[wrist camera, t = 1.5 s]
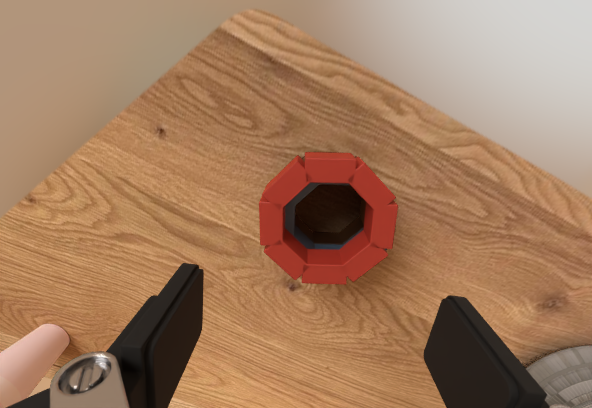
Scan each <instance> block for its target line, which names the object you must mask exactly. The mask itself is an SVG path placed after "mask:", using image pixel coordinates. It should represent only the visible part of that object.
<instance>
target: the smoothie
mask: <svg viewBox="0 0 592 408" xmlns="http://www.w3.org/2000/svg"><path fill="white" fill-rule="evenodd" d="M69 342H70V339H69V336H68V334H67V333H66V331H65V330H64V329H62V328H61V327H59V326H57V325H54V324H43V325H41V326H40V327H38V328H37V329H35V330H34V331H32V332H31V333H29V334H28V335H26V336H25V337H23V338H22V339H20V340H19V341H17V342H16V343H14V344H13V345H11V346H10V347H8V348H7V349H5V350H4V351H2V352H1V353H0V408H6V407H8V406H10V405H13V404H15V403H17V402H19V401H22V400H24V399H26V398H27V397H28V396H29V394H30V393H31V392H32V391H33V389H34V388H35V387H36V386H37V384H38V383H39V382H40V381H41V379H42V378H43V377H44V375H45V374H46V373H47V372H48V370H49V369H50V368H51V367H52V365H53V364H54V363H55V361H56V360H57V359H58V358H59V356H60V355H61V354H62V352H63V351H64V350H65V349H66V347H67V346H68V345H69Z"/></svg>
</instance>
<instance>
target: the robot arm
mask: <svg viewBox="0 0 592 408" xmlns="http://www.w3.org/2000/svg"><path fill="white" fill-rule="evenodd" d="M202 319H203V269H199V266H198V265H195V264H187V263H183V264H182V265H181V266H180V267H179V269H178V270H177V271H176V272H175V274H174V275H173V276H172V278H171V279H170V280H169V282H168V283H167V284H166V286H165V287H164V288H163V289H162V291H161V292H160V293H159V295H158V296H154V295H153V296H151V297H150V298H149V299H148V300H147V301H146V302H145V304H144V305H143V306H142V307H141V309H140V310H139V311H138V312H137V314H136V315H135V316H134V317H133V319H132V320H131V321H130V323H129V324H128V325H127V326H126V328H125V329H124V330H123V331H122V333H121V334H120V335H119V336H118V338H117V339H116V340H115V341H114V343H113V344H112V345H111V346H110V348H109V349H108V350H107V351H106V352H103V351H98V352H90V353H87V354H83V355H81V356H79V357H76V358H74V359H72V360H71V361H69V362H68V363H66V364H65V365H64V366H63V367H62V368H60V369H59V370H58V371H57V372H56V374H55V376H54V377H53V379H52V380H51V385H50V388H49V389H46V390H44V391H42V392H40V393H37V394H35V395H33V396H31V397H28V398H26V399H24V400H22V401H19V402H17V403H15V404H13V405H10V406H8V407H6V408H168V406H169V403H170V401H171V399H172V397H173V394H174V392H175V390H176V388H177V385H178V383H179V381H180V379H181V377H182V374H183V372H184V370H185V368H186V365H187V363H188V361H189V359H190V357H191V354H192V352H193V350H194V348H195V345H196V343H197V341H198V339H199V336H200V334H201V330H202ZM424 360H425V363H426V365H427V367H428V369H429V371H430V373H431V376H432V378H433V380H434V382H435V384H436V386H437V388H438V390H439V393H440V395H441V397H442V399H443V401H444V403H445V405H446V407H447V408H571V407H569V406H565V405H562V404H554V405H551V406H549V405H548V403H547V402H546V401H545V399H546V397H547V393H546V392H545V391H544V390H543V389H542V388H541V386H540V385H539V384H538V383H537V382H536V380H535V379H534V378H533V377H532V376H531V374H530V373H529V372H528V371H527V370H526V369H525V367H524V366H523V365H522V364H521V363H520V361H519V360H518V359H517V358H516V357H515V355H514V354H513V353H512V352H511V351H510V350H509V348H508V347H507V346H506V345H505V344H504V342H503V341H502V340H501V339H500V338H499V336H498V335H497V334H496V333H495V332H494V331H493V329H492V328H491V327H490V326H489V325H488V323H487V322H486V321H485V320H484V319H483V317H482V316H481V315H480V314H479V313H478V312H477V310H476V309H475V308H474V307H473V306H472V304H471V303H470V302H469V301H468V300H467V299H466V298H465V297H459V296H451V295H450V296H447V297H446V299H443V300H442V301H441V304H440V307H439V310H438V313H437V316H436V318H435V321H434V324H433V327H432V330H431V333H430V336H429V339H428V341H427V344H426V347H425V350H424Z"/></svg>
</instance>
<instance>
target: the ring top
mask: <svg viewBox="0 0 592 408" xmlns="http://www.w3.org/2000/svg"><path fill="white" fill-rule="evenodd" d="M309 183H349V184H350V185H351V186H352V187H353V188H354V190H355V191H356V192H357V193H358V194H359V195H360V196H361V197H362V198H363V199H364V200H365V201H366V209H365V219H364V229H363V231H361V232H360V233H359V234H358V235H356V236H355V237H354V238H353V239H352V240H350V241H349V242H348V243H347V244H345V245H344V246H343V247H342V248H340V249H339V250H331V249H307V248H306V247H305V246H304V245H302V244H301V243H300V242H299V241H298V240H297V239H296V238H295V237H294V236H293V235H292V234H291V233H290V232H289V231H288V230H287V229H286V228H285V205H286V204H288V203H289V202H290V201H291V200H292V199H293V198H294V197H295V196H296V195H297V194H298V193H299V192H301V191H302V190H303V189H304V188H305V187H306V186H307V185H308V184H309ZM395 198H396V197H395V196H394V195H393V194H392V192H391V191H390V190H389V189H388V188H387V187H386V186H385V185H384V184H383V182H382V181H381V180H380V179H379V178H378V177H377V176H376V175H375V174H374V173H373V171H372V170H371V169H370V168H369V167H368V166H367V165H366V164H365V163H364V162H363V161H362V160H361V159H360V158H359V157H356V158H355V157H354V156H353V155H352V154H351V153H319V152H305V162H304V161H303V160H302V159H301V158H300V156H299V155H297V156H296V157H295V158H294V159H293V160H292V161H291V162H290V163H289V164H288V165H287V166H286V167H285V168H284V169H283V170H282V171H281V172H280V173H279V174H278V175H277V176H276V177H275V178H274V179H272V180H271V181H270V182H269V183H268V184H267V186H266V188H265V190H264V192H263V194H262V198H261V200H260V202H259V216H260V244H261V245H266V246H265V249H264V253H266V254H267V255H268V256H269V257H270V258H271V259H272V260H273V261H274V262H276V263H277V264H278V265H279V266H280V267H281V268H282V269H283V270H284V271H285V272H287V273H288V274H289V275H290V276H291V277H292V278H293V279H294V280H296V279H297V278H299V277H300V276H301V275H302V283H315V284H346V280H347V277H348V278H349V279H350V280H351V281H352V282H354V281H355V280H357V279H358V278H359V277H361V276H362V275H363V274H364V273H366V272H367V271H368V270H370V269H371V268H372V267H374V266H375V265H376V264H378V263H379V262H380V261H382V260H383V259H384V258H385V257H387V256H388V254H387V252H386V250H385V249H392V246H393V239H394V232H395V225H396V217H397V210H398V205H397V204H396V203H395V202H394V199H395Z"/></svg>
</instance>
